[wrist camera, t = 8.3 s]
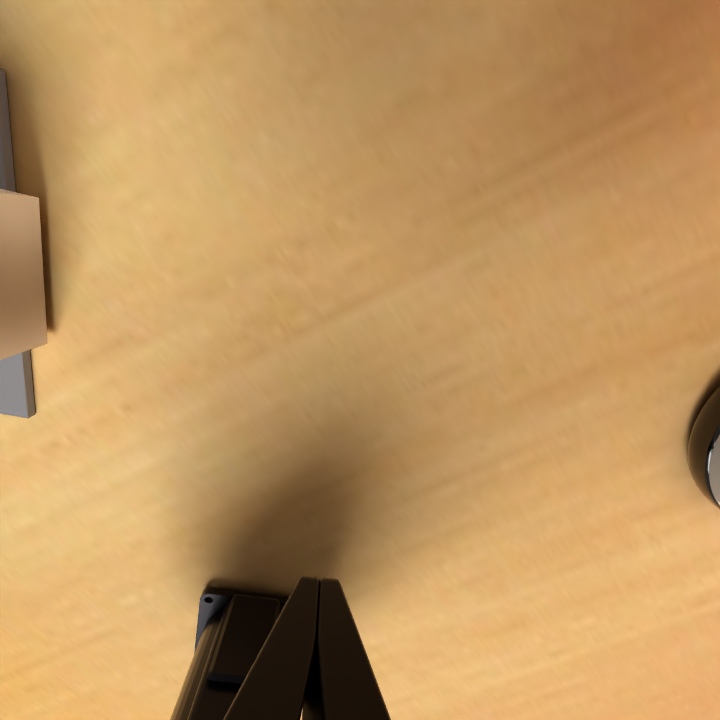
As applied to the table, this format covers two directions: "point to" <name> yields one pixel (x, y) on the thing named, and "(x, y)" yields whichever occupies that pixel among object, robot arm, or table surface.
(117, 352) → the table surface
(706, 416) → the supplement container
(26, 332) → the cream block
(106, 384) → the table surface
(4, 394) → the mat
